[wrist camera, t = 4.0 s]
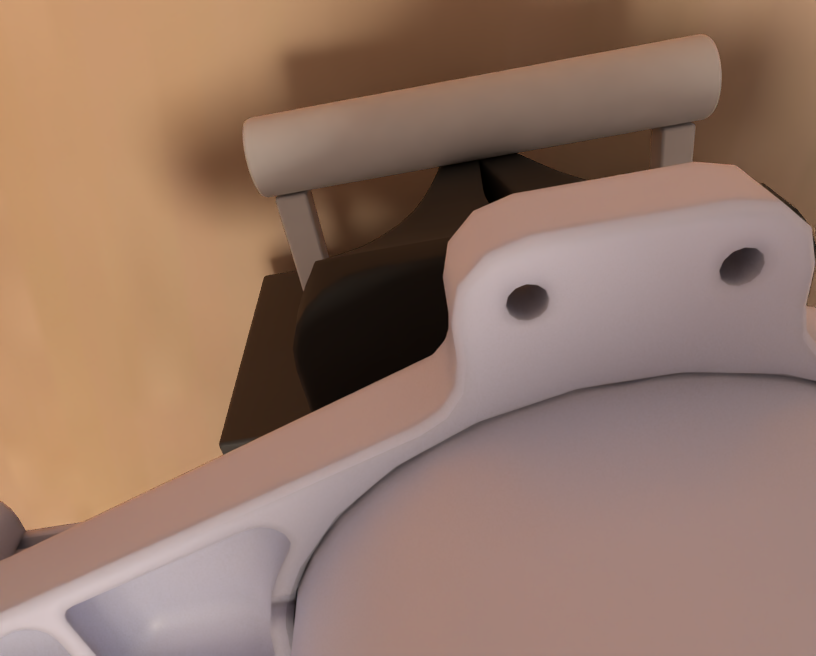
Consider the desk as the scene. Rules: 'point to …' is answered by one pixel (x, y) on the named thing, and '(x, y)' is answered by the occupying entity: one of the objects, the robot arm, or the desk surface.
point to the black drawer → (439, 146)
